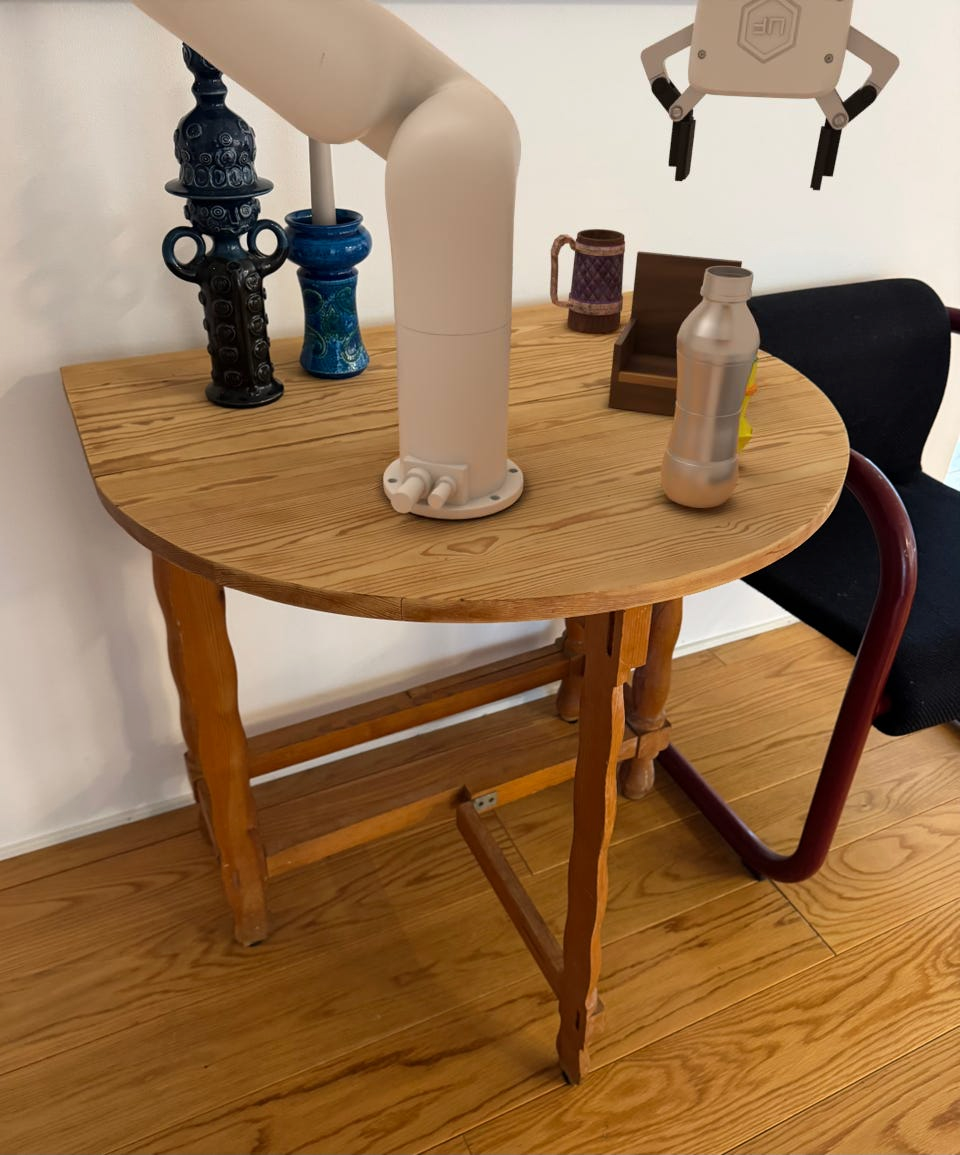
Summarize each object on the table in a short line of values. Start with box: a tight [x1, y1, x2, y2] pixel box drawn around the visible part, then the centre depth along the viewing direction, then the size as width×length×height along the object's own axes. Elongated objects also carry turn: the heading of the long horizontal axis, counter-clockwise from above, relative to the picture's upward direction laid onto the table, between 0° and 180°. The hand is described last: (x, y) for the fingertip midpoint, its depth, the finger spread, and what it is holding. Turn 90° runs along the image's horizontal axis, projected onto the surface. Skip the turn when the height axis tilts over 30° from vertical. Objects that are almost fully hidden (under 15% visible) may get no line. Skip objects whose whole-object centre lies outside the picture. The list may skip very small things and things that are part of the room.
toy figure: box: [737, 355, 759, 455], centre depth 87 cm, size 7×4×12 cm, turn 30°
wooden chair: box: [607, 250, 743, 417], centre depth 101 cm, size 10×11×14 cm
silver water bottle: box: [659, 266, 761, 509], centre depth 79 cm, size 6×7×20 cm
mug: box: [549, 228, 626, 335], centre depth 121 cm, size 10×7×12 cm
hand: (747, 182), depth 70 cm, fingers open, 9 cm apart
